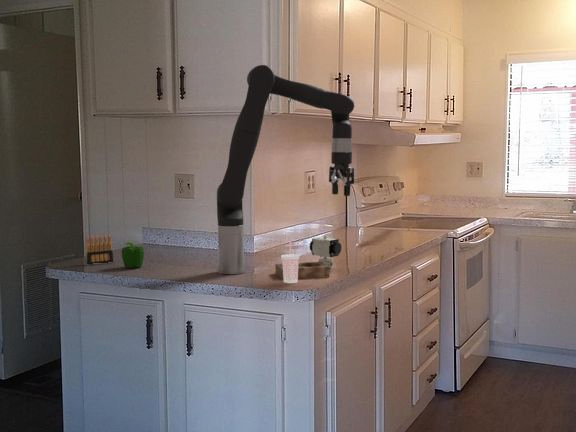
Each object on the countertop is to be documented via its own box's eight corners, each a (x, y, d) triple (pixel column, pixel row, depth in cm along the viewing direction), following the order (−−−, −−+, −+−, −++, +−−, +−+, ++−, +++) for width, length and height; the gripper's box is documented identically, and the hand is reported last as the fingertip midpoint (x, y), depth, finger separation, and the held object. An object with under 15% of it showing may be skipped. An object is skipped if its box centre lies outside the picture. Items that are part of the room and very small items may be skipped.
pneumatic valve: (316, 265, 267) (316, 234, 266) (341, 268, 260) (341, 236, 259) (307, 267, 263) (307, 235, 262) (333, 270, 256) (333, 238, 254)
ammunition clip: (87, 265, 272) (85, 235, 270) (85, 265, 273) (84, 234, 272) (113, 262, 278) (112, 232, 277) (111, 262, 279) (110, 232, 278)
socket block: (281, 279, 240) (281, 269, 240) (275, 273, 251) (275, 263, 251) (329, 276, 244) (329, 266, 243) (321, 271, 254) (321, 261, 254)
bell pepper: (142, 265, 272) (141, 239, 271) (146, 268, 264) (145, 242, 263) (120, 266, 269) (119, 240, 268) (123, 270, 261) (122, 243, 260)
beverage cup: (281, 283, 232) (281, 241, 231) (281, 280, 238) (281, 239, 237) (299, 283, 232) (299, 241, 231) (299, 280, 238) (299, 239, 237)
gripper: (323, 150, 262) (322, 194, 263) (342, 151, 249) (341, 196, 250) (340, 150, 265) (339, 193, 267) (360, 151, 252) (359, 196, 254)
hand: (340, 195), depth 258 cm, fingers open, 8 cm apart
